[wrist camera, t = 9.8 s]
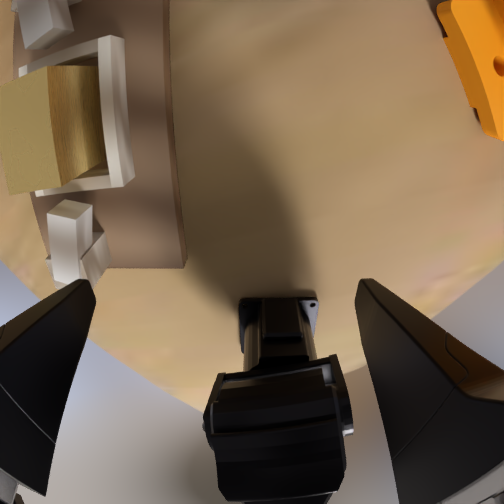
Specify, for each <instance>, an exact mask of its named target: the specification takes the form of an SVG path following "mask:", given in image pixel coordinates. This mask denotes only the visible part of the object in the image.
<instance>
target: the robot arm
mask: <svg viewBox="0 0 504 504" xmlns="http://www.w3.org/2000/svg"><path fill="white" fill-rule="evenodd" d="M311 303H314V304H311ZM243 304H247V305H243ZM95 306H96V298H95V295H94V292H93V289H92V286H91V284H90V281H89V280H88V279H77V280H75V281H73V282H71V283H70V284H68V285H66V286H65V287H63V288H61V289H60V290H58V291H56V292H55V293H53V294H51V295H50V296H48V297H47V298H45V299H43V300H42V301H40V302H38V303H37V304H35V305H34V306H32V307H30V308H29V309H27V310H26V311H24V312H23V313H21V314H19V315H18V316H16V317H15V318H14V319H12V320H10V321H9V322H7V323H6V324H4V325H3V326H1V327H0V504H24V502H23V500H22V497H21V495H19V494H17V493H16V492H17V488H18V485H19V484H20V485H22V486H24V487H26V488H28V489H30V490H32V491H34V492H36V493H38V494H40V495H42V496H46V492H47V486H48V479H49V475H50V469H51V464H52V459H53V454H54V449H55V443H56V440H57V436H58V432H59V427H60V424H61V420H62V416H63V412H64V409H65V405H66V401H67V398H68V394H69V391H70V388H71V385H72V381H73V378H74V375H75V372H76V369H77V365H78V362H79V360H80V357H81V354H82V351H83V348H84V345H85V342H86V339H87V336H88V332H89V328H90V324H91V320H92V317H93V313H94V309H95ZM318 307H319V303H318V299H317V298H315V297H300V298H244V299H241V300H240V301H239V320H240V337H241V351H242V353H243V354H244V367H243V372H235V373H227V374H226V373H218V375H217V378H216V381H215V383H214V386H213V388H212V391H211V394H210V397H209V400H208V403H207V406H206V408H205V411H204V414H203V420H204V422H203V430H204V431H205V432H206V437H207V440H208V443H209V445H210V447H211V449H212V450H213V451H214V453H215V459H216V466H217V477H218V488H219V490H220V491H221V493H222V494H223V496H224V497H225V499H226V500H227V501H228V502H242V503H243V504H327V502H328V500H329V499H330V497H331V495H332V493H333V492H337V491H338V489H339V487H340V485H341V483H342V480H343V478H344V472H345V470H346V455H345V448H344V439H343V436H348V435H353V418H352V410H351V404H350V399H349V394H348V390H347V387H346V383H345V380H344V377H343V374H342V370H341V367H340V364H339V361H338V358H337V354H333V355H329V357H325V358H321V359H317V355H316V350H315V345H314V339H313V338H314V332H315V326H316V320H317V313H318ZM355 309H356V314H357V320H358V325H359V331H360V336H361V342H362V346H363V350H364V354H365V357H366V361H367V364H368V368H369V371H370V375H371V378H372V382H373V385H374V389H375V393H376V397H377V401H378V405H379V409H380V413H381V417H382V420H383V425H384V429H385V434H386V437H387V442H388V447H389V451H390V456H391V460H392V466H393V471H394V476H395V482H396V487H397V493H398V499H399V504H504V370H502V369H501V368H499V367H498V366H496V365H495V364H493V363H491V362H490V361H489V360H487V359H485V358H484V357H482V356H481V355H479V354H478V353H476V352H475V351H473V350H472V349H470V348H469V347H467V346H466V345H464V344H463V343H462V342H460V341H459V340H457V339H456V338H455V337H453V336H452V335H451V334H449V333H448V332H446V331H445V330H444V329H442V328H441V327H440V326H439V325H437V324H435V323H434V322H433V321H432V320H430V319H429V318H428V317H426V316H425V315H423V314H422V313H421V312H419V311H418V310H417V309H415V308H414V307H412V306H411V305H410V304H408V303H407V302H405V301H404V300H403V299H401V298H400V297H398V296H397V295H395V294H394V293H393V292H391V291H390V290H388V289H387V288H385V287H384V286H383V285H381V284H380V283H378V282H377V281H375V280H374V279H372V278H367V279H361V280H360V281H359V283H358V288H357V292H356V297H355Z"/></svg>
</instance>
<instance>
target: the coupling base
mask: <svg viewBox="0 0 504 504" xmlns="http://www.w3.org/2000/svg"><path fill="white" fill-rule="evenodd" d="M11 11H14V12H15V22H14V40H13V74H14V80H15V79H17V78H19V77H21V76H24V75H26V74H28V73H31V72H33V71H35V70H38V69H40V68H43V67H45V66H99V86H100V100H101V111H102V122H103V131H104V139H105V147H106V154H107V159H106V160H104V161H102V162H100V163H99V164H97V165H95V166H94V167H92V168H90V169H89V170H87V171H86V172H84V173H82V174H81V175H79V176H78V177H76V178H75V179H73V180H71V181H70V182H68V183H67V184H65V185H64V186H62V187H58V188H51V189H44V190H38V191H32V192H30V196H31V200H32V204H33V207H34V211H35V215H36V218H37V222H38V225H39V229H40V232H41V235H42V239H43V242H44V245H45V248H46V251H47V254H48V257H47V258H46V259H45V261H46V264H47V266H48V269H49V272H50V274H51V277H52V279H53V282H54V284H55V287H56V289H61V288H63V287H65V286H66V285H68V284H70V283H71V282H73V281H75V280H77V279H88V280H89V281H90V284H91V286H92V289H93V288H94V287H95V285H96V284H97V282H98V281H99V279H100V278H101V276H102V275H103V273H104V272H105V270H106V269H107V268H175V269H184V266H185V263H186V260H187V251H186V244H185V236H184V228H183V220H182V212H181V203H180V194H179V185H178V175H177V165H176V153H175V141H174V128H173V113H172V96H171V75H170V41H169V0H12V5H11Z"/></svg>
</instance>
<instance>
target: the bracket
mask: <svg viewBox="0 0 504 504" xmlns="http://www.w3.org/2000/svg"><path fill="white" fill-rule="evenodd" d="M437 15H438V17H439V19H440V21H441V23H442V25H443V27H444V29H445V31H446V33H447V35H448V37H445V38H443V39H444V41H445V44H446V46H447V48H448V50H449V52H450V55H451V57H452V59H453V62H454V64H455V66H456V69H457V71H458V74H459V76H460V79H461V82H462V84H463V87H464V90H465V92H466V95H467V98H468V101H469V104H470V107H473V108H476V109H477V112H478V116H479V119H480V123H481V126H482V129H483V131H484V133H485V134H487V135H489V136H491V137H494V138H496V139H499V140H502V141H504V0H449V1H445V2H442V3H439V4H438V6H437Z"/></svg>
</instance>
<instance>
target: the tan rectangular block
mask: <svg viewBox="0 0 504 504" xmlns="http://www.w3.org/2000/svg"><path fill="white" fill-rule="evenodd" d="M0 151H1V157H2V162H3V167H4V172H5V177H6V181H7V186H8V190H9V194H10V195H14V194H20V193H26V192H32V191H38V190H44V189H51V188H58V187H62V186H64V185H65V184H67V183H68V182H70V181H71V180H73V179H75V178H76V177H78V176H79V175H81V174H82V173H84V172H86V171H87V170H89V169H90V168H92V167H94V166H95V165H97V164H99V163H100V162H102V161H104V160H106V159H107V154H106V147H105V139H104V131H103V122H102V111H101V100H100V86H99V66H45V67H43V68H40V69H38V70H35V71H33V72H31V73H28V74H26V75H24V76H21V77H19V78H17V79H15V80H12V81H10V82H8V83H6V84H4V85H2V86H0Z"/></svg>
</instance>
